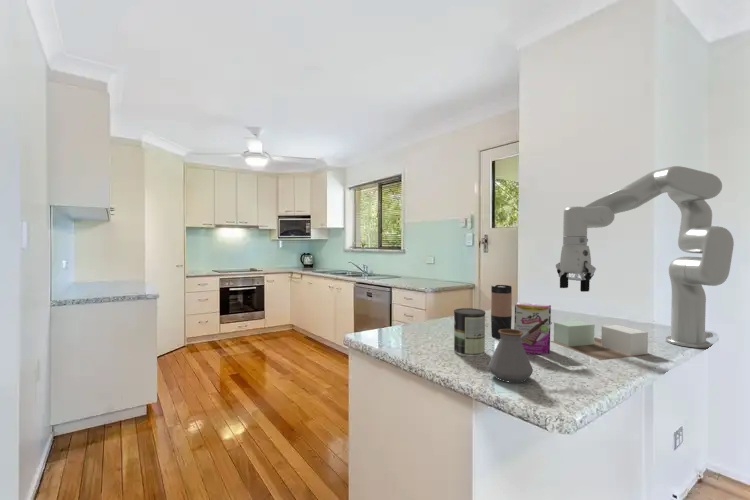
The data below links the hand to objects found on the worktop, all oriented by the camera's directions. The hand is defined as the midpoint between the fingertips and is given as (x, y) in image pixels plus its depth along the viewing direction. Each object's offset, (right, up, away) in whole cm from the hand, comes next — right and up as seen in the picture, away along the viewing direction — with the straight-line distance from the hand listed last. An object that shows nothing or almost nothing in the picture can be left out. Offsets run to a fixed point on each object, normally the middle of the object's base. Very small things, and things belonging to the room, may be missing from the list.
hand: (574, 289), depth 133 cm
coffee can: (-39, -21, -7) cm, 45 cm away
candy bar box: (-18, -21, -8) cm, 29 cm away
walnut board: (+5, -20, -5) cm, 22 cm away
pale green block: (0, -19, 0) cm, 19 cm away
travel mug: (-22, -20, +13) cm, 32 cm away
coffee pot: (-29, -21, -28) cm, 46 cm away
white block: (+12, -19, -8) cm, 24 cm away
